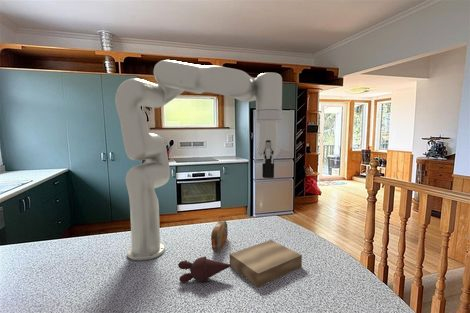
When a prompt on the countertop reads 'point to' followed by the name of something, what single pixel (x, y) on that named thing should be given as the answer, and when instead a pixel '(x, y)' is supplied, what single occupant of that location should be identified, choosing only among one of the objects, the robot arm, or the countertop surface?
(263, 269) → the base
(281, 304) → the countertop surface
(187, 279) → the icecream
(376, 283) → the countertop surface
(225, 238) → the tin
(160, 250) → the robot arm
